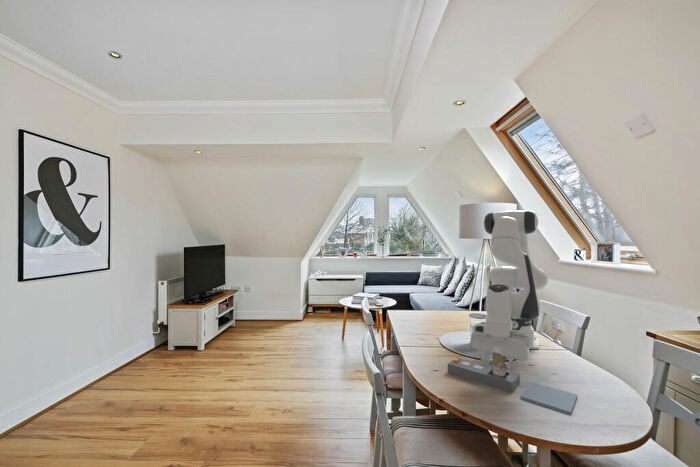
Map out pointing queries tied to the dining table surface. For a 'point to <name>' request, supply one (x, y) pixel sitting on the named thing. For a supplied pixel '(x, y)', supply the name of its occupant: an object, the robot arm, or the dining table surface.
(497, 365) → the sprinkles bottle
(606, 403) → the dining table surface
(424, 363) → the dining table surface
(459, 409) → the dining table surface
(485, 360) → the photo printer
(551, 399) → the rubber mat
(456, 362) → the power strip
